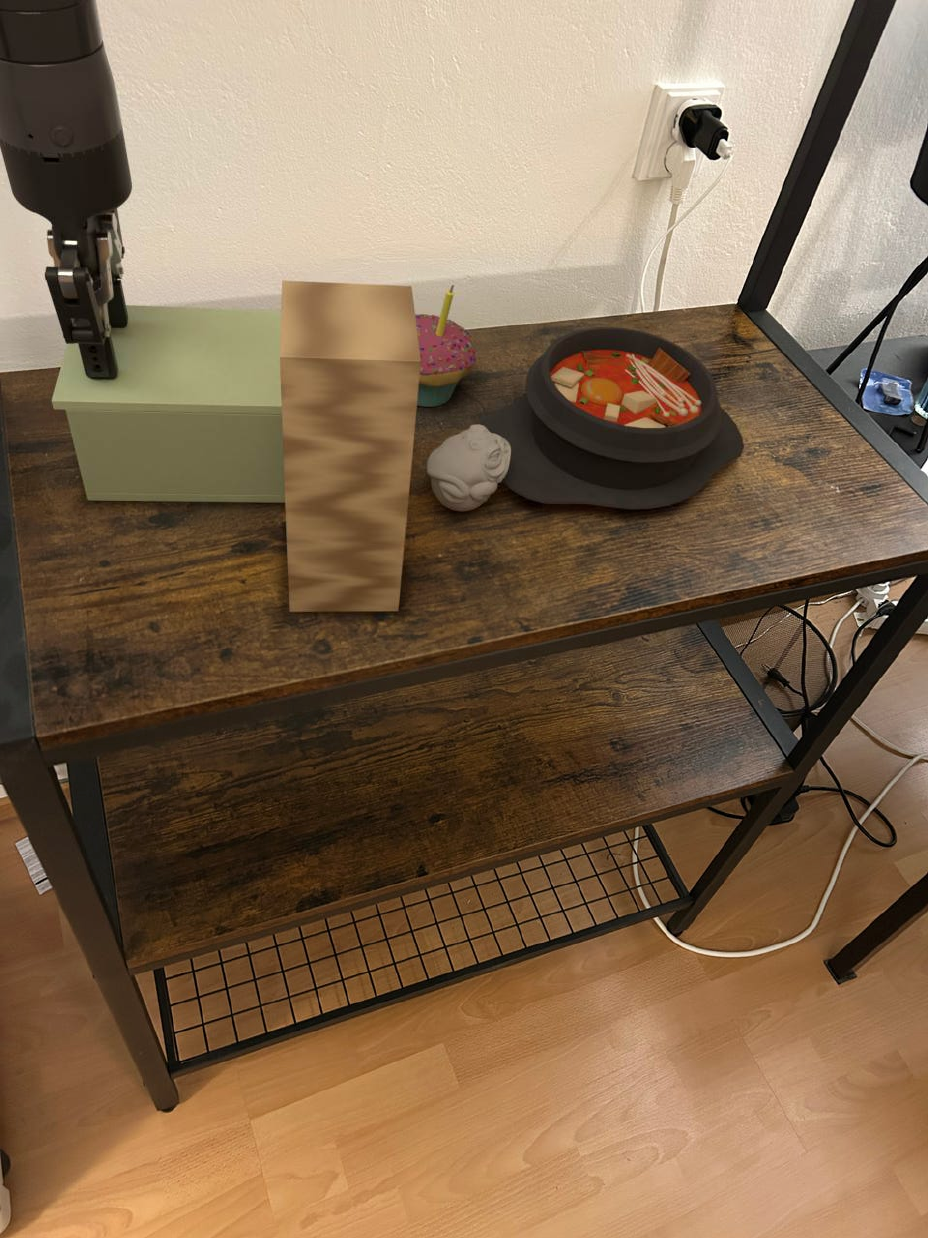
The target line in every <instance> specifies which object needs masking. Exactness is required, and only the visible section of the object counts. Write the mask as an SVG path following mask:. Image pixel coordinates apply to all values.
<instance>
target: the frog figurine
mask: <svg viewBox="0 0 928 1238" xmlns="http://www.w3.org/2000/svg"><path fill="white" fill-rule="evenodd" d="M510 457H511V447H510V444H509V443H508V441H506V440H505V439H504V438H502V437H501V436H499V435H497V434H494V433H493V434H492V433H490V432H489V430H488V429H487V428H486V427H485V426H483V425H479V424H472V425H470V426H469V427H468V429H464V430H463V431H461V432H460V433H458V434H454V435H452V436H450V437H448V438H446V439H445V440H444V441H443V442H442V443H441V444H440V445H439V446H438V447H436V448H435V449H434V450H433V451H432V452H431V454H429V457H428V459H427V461H426V472H427V475H428V476H430V477H431V479H430V481H431V482H430V483H431V489H432V491H433V494H434V496H435V498H436V500H438V502H439V503H440V504H441V505H442V506H444V507H446V508H447V509H449V510H452V511H455V512H468V511H469V512H470V511H472V510H475V509H478V507H480V506H482V504H484V503H486V502H488V499H490V497H491V495H493V494H494V493H495V492H496V490H497V489H498V484H499V483H502V482H501V481H502V479H503V478H505V475H506V473H507V471H508V468H509V463H510Z"/></svg>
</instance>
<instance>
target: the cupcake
mask: <svg viewBox="0 0 928 1238" xmlns="http://www.w3.org/2000/svg"><path fill="white" fill-rule="evenodd" d="M454 288H455V284H451V286H450V289H447V290H446V291H445V295H444V298H443V302H442V307H441V310H440V314H439V315H440V316H439V315H435V314H427V313H425V314H423V313H422V314H421V313H420V314H415V318H416V326H417V334H418V342H419V350H420V358H421V366H420V377H419V389H418V400H417V407H424V408H432V407H433V408H434V407H439V406H442V405H445V404H446V403H447V402H448V401H449V400H450V399H451V397H452V395H453V393H454V391H455V389H456V387H457V386H458V384H459V382H460V381H461V380H462V379H464V378H465V377H467V376H469V375H470V373H471V371H472V368H473V366H474V365H475V363H476V361H477V353H476V349H475V345H474V340H473V338H472V335H471V334H470V333H469V332H467V330H466V329H465V327H463V326H462V325H459V324H458V323H456V322H455V321H453V320H451V319H448V317H449V312H450V310H451V306H452V303H453V302H452V301H453V298H454V294H455V293H454V291H453V290H454Z"/></svg>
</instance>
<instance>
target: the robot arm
mask: <svg viewBox="0 0 928 1238" xmlns="http://www.w3.org/2000/svg"><path fill="white" fill-rule="evenodd" d="M0 152H1V155H2V159H3V163H4V167H5V170H6V175H7V177H8V182H9V185H10V189H11V192H12V195H13V198H14V199H15V200H16V202H17V203H18V204H19V205H21V206H22V207H23V208H24V209H26V210H28V211H30V212H31V213H35V214H36V215H39V216H41V217H43V218H44V219H46V220H47V221H48V222H50V224H51V229H47V230H46V241H47V249H48V254H49V256H50V257H51V258H52V260H53V265H54V266H45V272H44V280H45V281H46V284H47V287H48V290H49V294H50V297H51V300H52V304H53V307H54V310H55V313H56V317H57V319H58V323H59V326H60V329H61V332H62V333H61V334H62V337H63V339H64V342H65V344H66V345H67V344H74V343H78V345H79V349H80V353H81V357H82V361H83V365H84V370H85V374H86V376H87V377H88V378H90V379H104V380H112V379H115V378H116V377H117V373H118V366H117V361H116V357H115V352H114V347H113V343H112V338H111V333H110V332H111V328H124V327H126V326H127V323H128V313H127V308H126V305H127V304H126V299H125V294H124V293H125V292H124V288H123V284H122V280H123V275H124V272H125V271H124V267H123V266H122V260H123V259H124V255H125V253H126V248H125V246H124V243H123V236H122V230H121V226H120V225H121V224H120V217H119V213H118V208H119V207H121V206H123V205H124V204H125V203H126V202H127V200H128V199H129V198H130V196H131V194H132V190H133V181H132V176H131V169H130V165H129V164H130V163H129V158H128V151H127V146H126V140H125V134H124V129H123V123H122V117H121V111H120V106H119V100H118V93H117V87H116V84H115V79H114V74H113V72H112V69H111V65H110V62H109V60H108V56H107V52H106V47H105V43H104V40H103V33H102V27H101V22H100V15H99V9H98V3H97V0H0ZM96 281H101V288H100V289H93V286H92V285H93V282H96Z"/></svg>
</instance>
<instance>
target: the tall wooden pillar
mask: <svg viewBox="0 0 928 1238" xmlns="http://www.w3.org/2000/svg"><path fill="white" fill-rule="evenodd" d="M414 302H415V301H414V295H413V288H412V286H411V285H391V284H371V283H370V284H369V283H348V282H347V283H346V282H326V281H325V282H324V281H304V280H303V281H302V280H282V281H281V305H280V307H281V308H280V311H281V332H280V377H281V403H282V428H283V454H284V480H285V503H284V504H285V527H286V550H287V551H286V552H287V553H286V555H287V579H288V581H287V582H288V602H289V603H288V606H289V607H288V608H289V612H290V613H308V612H309V613H324V612H325V613H326V612H327V613H328V612H329V613H334V612H335V613H336V612H337V613H338V612H339V613H340V612H341V613H342V612H345V613H346V612H347V613H350V612H354V613H355V612H399V608H400V599H401V598H400V597H401V589H402V588H401V587H402V576H403V566H404V555H405V543H406V532H407V523H408V512H409V511H408V508H409V500H410V499H409V497H410V487H411V478H412V477H411V475H412V466H413V453H414V443H415V432H416V422H417V421H416V419H417V411H418V410H417V409H418V405H417V400H418V389H419V377H420V366H421V358H420V350H419V342H418V334H417V326H416V318H415V315H416V311H415V303H414Z"/></svg>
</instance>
